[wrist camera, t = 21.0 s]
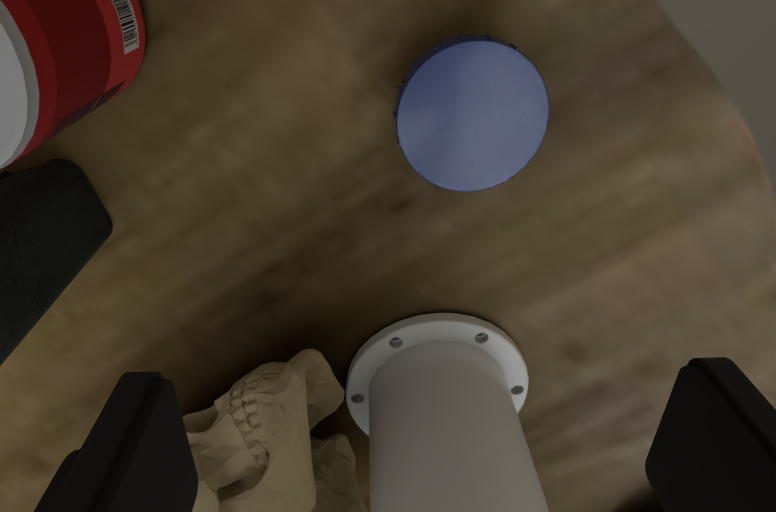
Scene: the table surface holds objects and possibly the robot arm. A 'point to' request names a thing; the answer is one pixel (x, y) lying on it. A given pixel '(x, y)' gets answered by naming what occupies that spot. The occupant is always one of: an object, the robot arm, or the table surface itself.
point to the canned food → (62, 65)
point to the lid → (471, 113)
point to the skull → (274, 443)
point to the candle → (43, 242)
